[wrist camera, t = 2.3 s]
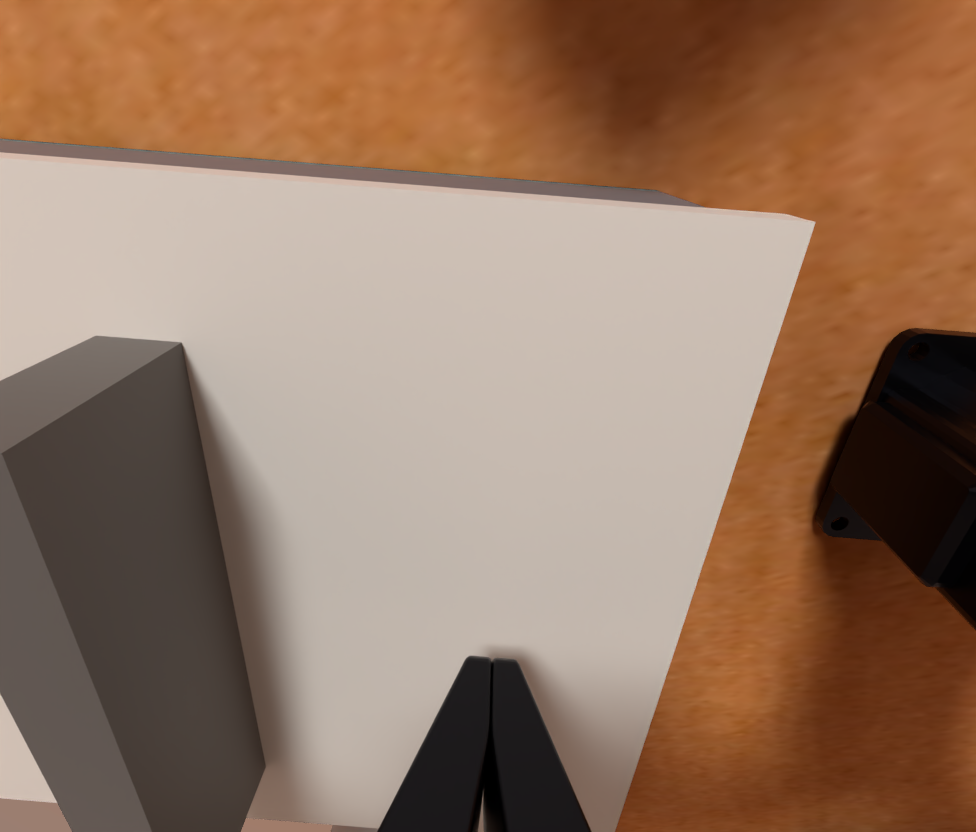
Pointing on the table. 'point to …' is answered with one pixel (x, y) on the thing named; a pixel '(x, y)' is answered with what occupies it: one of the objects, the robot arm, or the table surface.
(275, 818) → the lid
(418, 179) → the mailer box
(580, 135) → the table surface
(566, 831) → the robot arm
